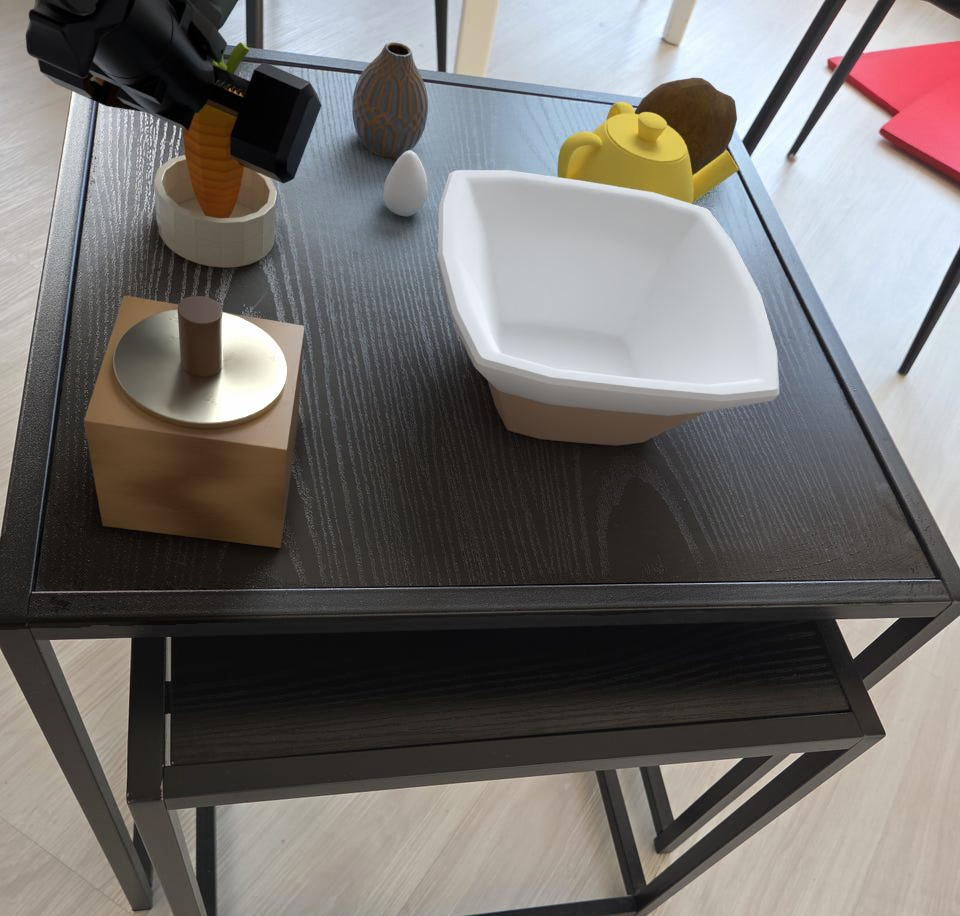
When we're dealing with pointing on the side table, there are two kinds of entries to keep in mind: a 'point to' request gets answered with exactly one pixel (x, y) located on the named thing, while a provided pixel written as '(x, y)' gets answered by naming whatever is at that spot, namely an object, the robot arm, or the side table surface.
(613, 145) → the teapot
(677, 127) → the potato
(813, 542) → the side table surface
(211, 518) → the stand
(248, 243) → the pot
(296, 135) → the robot arm
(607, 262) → the bowl
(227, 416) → the lid
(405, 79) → the vase
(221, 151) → the carrot
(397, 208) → the egg
